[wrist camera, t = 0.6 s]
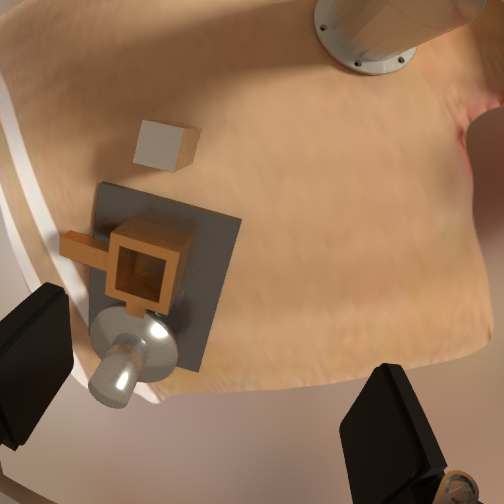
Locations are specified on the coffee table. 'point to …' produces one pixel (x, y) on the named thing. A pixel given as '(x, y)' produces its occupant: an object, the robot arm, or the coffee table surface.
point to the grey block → (166, 145)
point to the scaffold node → (149, 285)
